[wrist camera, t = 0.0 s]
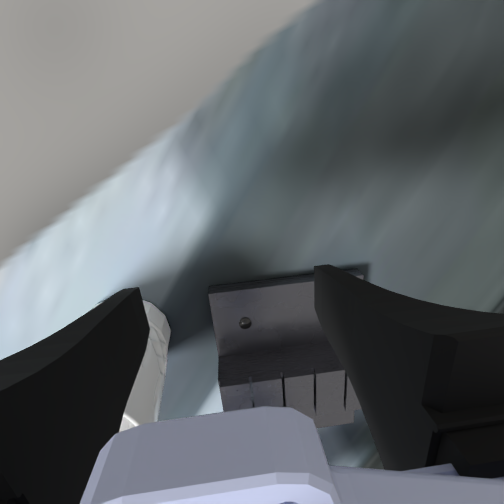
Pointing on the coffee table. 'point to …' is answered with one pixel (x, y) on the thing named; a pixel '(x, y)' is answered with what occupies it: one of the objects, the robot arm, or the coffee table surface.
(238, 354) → the hinge leaves
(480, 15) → the coffee table surface
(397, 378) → the robot arm
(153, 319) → the white cup
